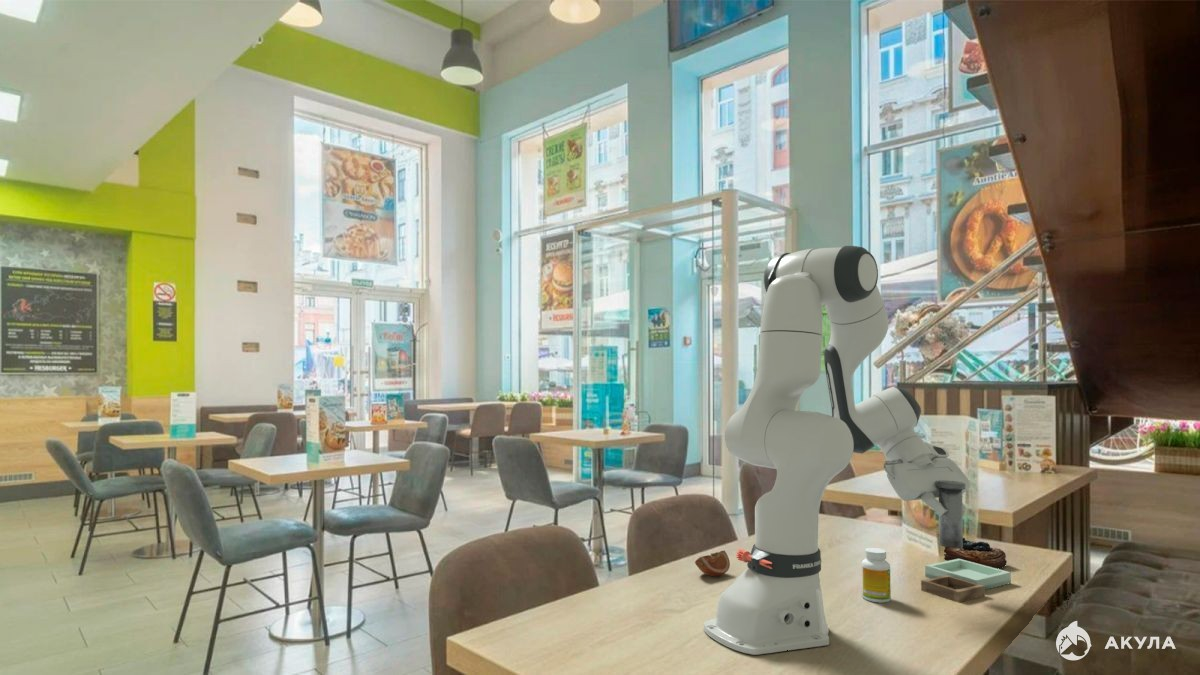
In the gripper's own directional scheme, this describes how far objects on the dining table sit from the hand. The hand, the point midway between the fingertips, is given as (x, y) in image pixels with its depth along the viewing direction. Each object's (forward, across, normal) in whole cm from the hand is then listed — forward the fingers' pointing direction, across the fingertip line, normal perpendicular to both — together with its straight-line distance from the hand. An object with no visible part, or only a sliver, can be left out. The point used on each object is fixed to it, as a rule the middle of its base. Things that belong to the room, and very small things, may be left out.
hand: (953, 512), depth 142 cm
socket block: (+11, 0, +12) cm, 17 cm away
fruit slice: (-12, -36, +36) cm, 53 cm away
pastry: (+4, +26, +20) cm, 33 cm away
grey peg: (+4, 0, +5) cm, 7 cm away
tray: (+8, +12, +15) cm, 21 cm away
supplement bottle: (+8, -16, +16) cm, 25 cm away
